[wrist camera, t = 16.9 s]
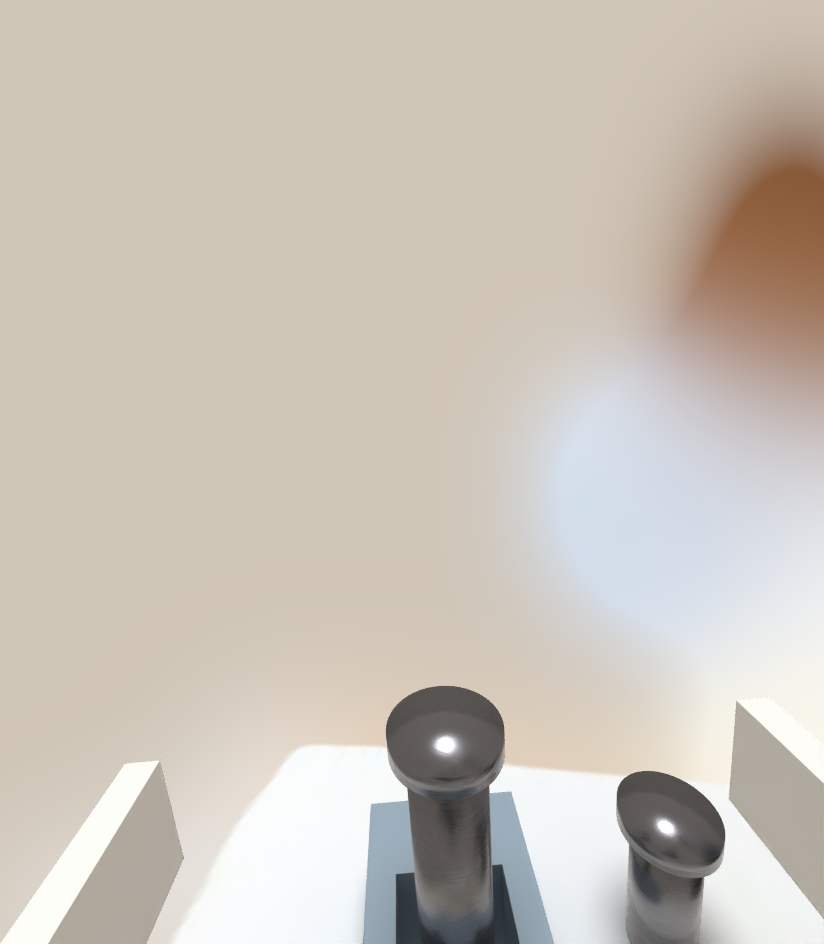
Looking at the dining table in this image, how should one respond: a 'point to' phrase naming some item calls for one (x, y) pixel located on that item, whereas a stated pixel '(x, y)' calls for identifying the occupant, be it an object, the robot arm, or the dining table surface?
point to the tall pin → (449, 807)
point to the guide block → (394, 891)
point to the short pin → (667, 856)
